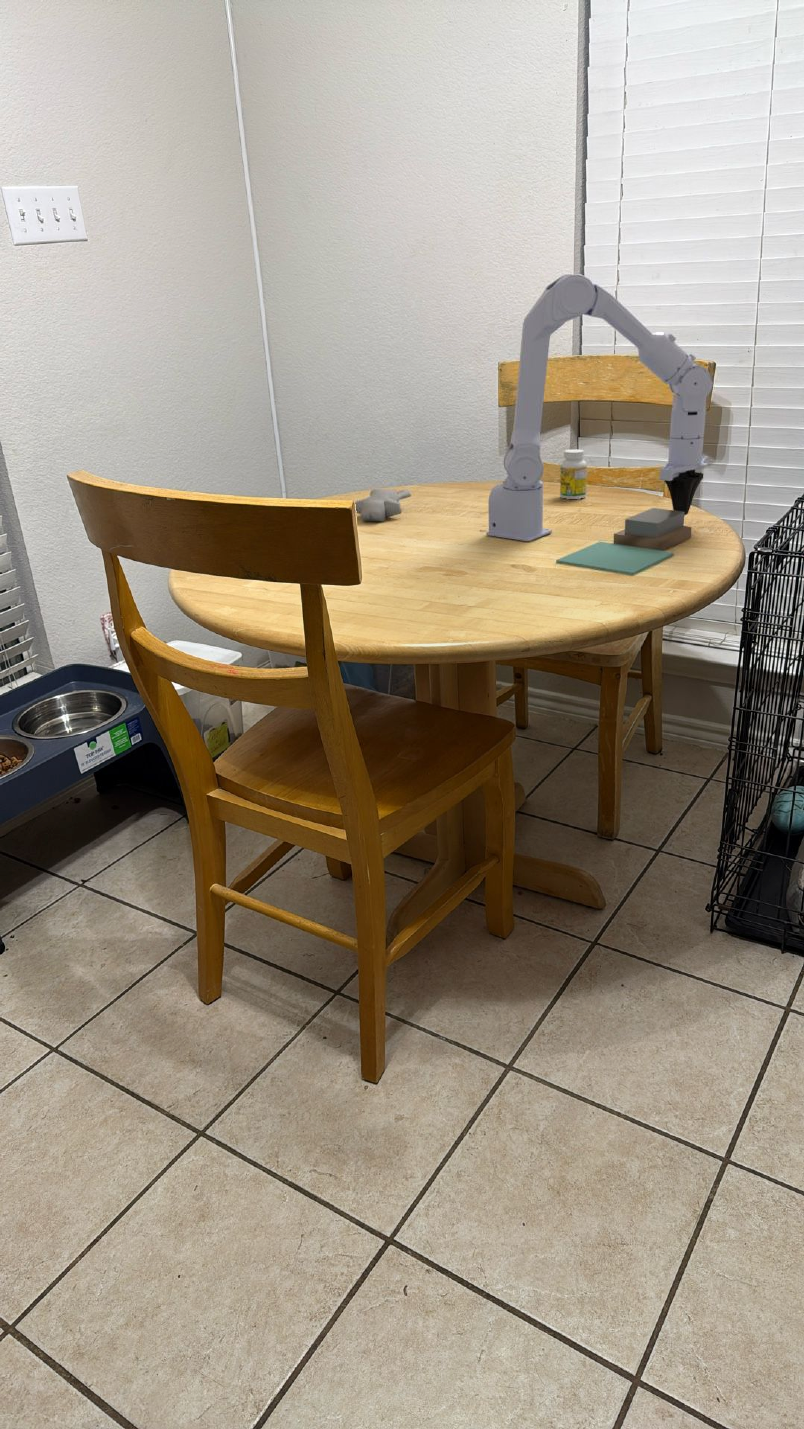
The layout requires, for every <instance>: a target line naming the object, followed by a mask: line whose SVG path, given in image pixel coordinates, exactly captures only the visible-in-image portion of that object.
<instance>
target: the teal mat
mask: <svg viewBox="0 0 804 1429" xmlns="http://www.w3.org/2000/svg"><path fill="white" fill-rule="evenodd" d="M613 543H614V542H612V543H611V542H605V541H597V542H595V543H593V544H591V545H588V546H585V547H584V548H581V549H579V550H577V551H575V552H572V553H570V554H567V555H565V556H563V557H560V558H557V559H556V562H555V563H557V564H561V565H562V564H563V565H568V566H576V567H581V568H587V569H593V570H598V571H605V572H611V573H616V574H622V575H623V574H624V575H629V576H635V575H637V574H639V573H641V572H643V571H645V570H647V569H648V568H650V567H653V566H655V565H657V564H659V563H661V562H662V561H664V560H665V561H666V560H667V559H669V558H671V557H673V556H675V552H673V551H668V550H665V551H661V550H654V549H647V548H640V547H634V546H627V545H620V544H613Z"/></svg>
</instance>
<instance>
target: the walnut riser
mask: <svg viewBox="0 0 804 1429" xmlns="http://www.w3.org/2000/svg"><path fill="white" fill-rule="evenodd" d="M691 537H692V526H687V525H684V526H682V527H680V528H678V529H676V530H673V531H671V532H669V533H667V534H665V535H663V536H660V537H658V538H652V537H644V536H637V535H630V534H625V528H624V529H623V530H620V531H618V532H615V533H613V542H612V543H613V544H620V545H627V546H634V547H640V548H647V549H654V550H661V551H668V550H669V549H671V548H673V547H676V546H677V545H679V544H681V543H684V542H686V541H688V540H690V539H692V538H691Z"/></svg>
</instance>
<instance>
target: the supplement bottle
mask: <svg viewBox="0 0 804 1429" xmlns="http://www.w3.org/2000/svg"><path fill="white" fill-rule="evenodd" d="M584 457H585V450H584V449H577V448H576V449H565V450H564V451H563V458H565V460H563V461H562V462H561V463H560V483H559V484H560V489H559V493H560V494H559V496H560V499H561V498H562V499H563V498H567V499H566V500H569V499H577V500H582V499H581V498H583V499H584V498H586V497H587V472H588V471H587V470H588V468H587V467H588V464H587V461H586V460H584V459H583V458H584Z"/></svg>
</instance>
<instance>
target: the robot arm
mask: <svg viewBox="0 0 804 1429" xmlns="http://www.w3.org/2000/svg"><path fill="white" fill-rule="evenodd" d="M583 315H585V316H589V317H592V318H598V319H602V320H603V321H604V322H606V323H607V324H608V325H609V326H611V327H612V328H613V329H615V330H616V331H617V333H619V334H621V335H622V337H624V338H625V339H626V340H627V341H629V342H630V343H631V344H632V345H634V346H635V347H636V348H637V349H638V352H637V353H638V361H639V362H640V364H641V363H642V365H644V367H646V368H647V369H648V370H649V371H650V372H652V374H654V375H655V376H656V377H657V378H658V379H660V381H662V382H663V383H664V384H665V385H668V387H669V390H670V391H671V393H672V394H673V395H672V396H673V397H672V408H671V414H670V415H671V416H670V430H669V441H668V442H669V443H668V455H667V456H668V457H667V459H668V460H667V462H665V465H664V466H663V467H662V468H660V469H659V470H660V472H659V473H660V474H659V480H660V481H664V483H665V485H666V486H667V489H668V491H669V495H670V500H671V504H672V505H671V506H672V510H675V511H683V512H685V514H684V516H686V515H688V514H689V512H690V509H691V505H692V502H693V499H694V495H695V493H696V491H697V488H698V487H699V485H700V484H701V482H702V480H703V479H704V473H703V472H696V470H699V469H700V470H704V469H707V468H708V466H709V463H708V459H709V456H707V455H703V449H704V437H705V428H706V427H705V426H706V425H705V424H706V416H707V415H706V414H707V397H708V395H709V394H710V393H711V391H712V389H713V385H714V382H713V381H712V377H711V373H710V371H709V370H708V369H707V368H706V367H704V366H702V365H698V363H696V362H695V361H696V359H697V357H696V356H695V355H694V354H693V353H690V354H688V353H687V352H686V351H685V350H684V349H682V347H680V346H679V344H677V343H676V342H675V341H676V340H677V338H676V337H675V336H674V334H672V333H668V334H666V333H665V332H664V331H659V332H651V331H650V330H649V329H648V328H647V327H646V326H645V325H644V324H643V323H642V322H641V321H639V319H637V318H636V317H635V315H633V314H632V313H631V312H630V311H629V310H628V309H627V308H626V307H625V306H624V305H623V304H622V302H620V301H619V300H618V299H617V298H616V297H615V296H614V295H613V294H611V293H609V292H608V291H607V290H606V289H605V288H603V287H601V286H599V285H598V284H596V283H593V281H592V280H591V279H589V278H588V277H587V276H585V275H582V274H579V273H576V274H575V273H574V274H572V273H570V274H564V275H562V276H560V277H559V278H557V279H555V280H554V281H553V282H552V283H550V284H549V285H547V286H546V287H545V289H544V290H543V292H542V294H541V295H540V297H539V298H538V299H537V300H536V302H535V303H534V304H533V306H532V307H531V308H530V310H529V312H528V313H527V314H526V315H525V317H524V319H523V322H522V328H521V329H522V330H521V341H520V342H521V343H520V353H519V361H518V362H519V364H518V372H517V373H518V375H517V386H516V387H517V388H516V395H515V396H516V397H515V406H514V407H515V408H514V409H515V410H514V420H513V429H512V432H511V436H510V443H509V446H508V449H507V450H506V452H505V454H504V456H503V467H504V470H505V472H506V474H507V477H506V478H505V479H504V480H503V481H502V483H498V484H495V485H494V486H493V488H491V491H490V493H489V497H488V531H486V533H485V535H486V536H492V537H496V538H502V539H503V538H504V539H510V540H511V539H512V540H516V541H524V542H531V541H533V540H536V539H539V538H540V537H541V538H542V537H543V536H547V535H549V534H551V533H552V532H553V529H549V528H543V526H544V523H543V519H544V515H543V514H544V481H542V480H541V479H542V477H543V475H544V462H543V461H542V458H541V428H542V417H543V410H544V409H543V405H544V397H545V388H546V377H547V370H548V369H547V367H548V360H549V351H550V350H549V348H550V341H551V335H552V334H554V333H555V332H556V331H558V330H559V328H561V327H562V326H563V325H565V323H567V322H568V321H571V320H573V319H576V318H579V317H581V316H583Z"/></svg>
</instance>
